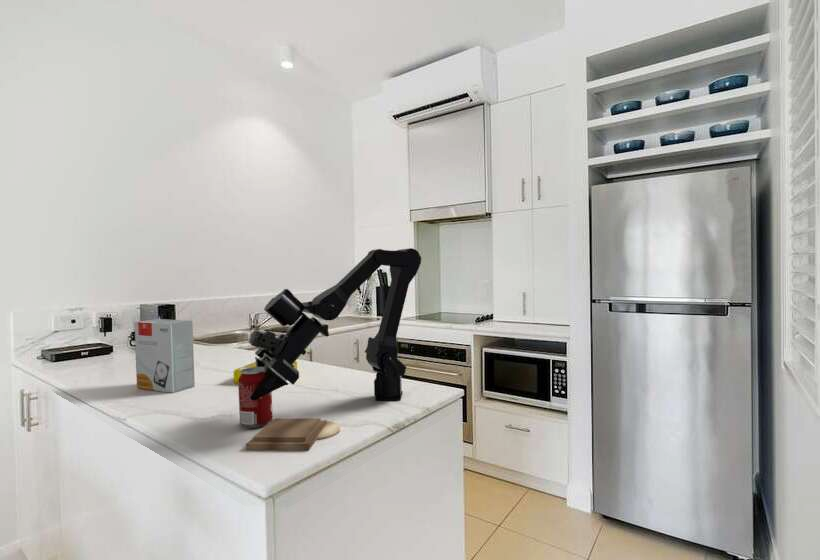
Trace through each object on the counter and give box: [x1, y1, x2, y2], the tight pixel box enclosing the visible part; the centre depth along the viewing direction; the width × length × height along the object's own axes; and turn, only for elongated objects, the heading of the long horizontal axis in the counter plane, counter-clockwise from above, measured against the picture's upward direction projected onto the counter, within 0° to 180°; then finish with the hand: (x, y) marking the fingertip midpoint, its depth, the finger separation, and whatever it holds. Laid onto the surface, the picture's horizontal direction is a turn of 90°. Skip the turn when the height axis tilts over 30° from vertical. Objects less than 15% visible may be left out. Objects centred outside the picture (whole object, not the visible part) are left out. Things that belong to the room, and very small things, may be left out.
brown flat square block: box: [245, 417, 328, 451], centre depth 83 cm, size 12×12×2 cm
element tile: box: [233, 360, 298, 385], centre depth 131 cm, size 15×15×5 cm
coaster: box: [316, 420, 341, 441], centre depth 86 cm, size 9×9×1 cm
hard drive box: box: [133, 318, 196, 394], centre depth 123 cm, size 16×8×20 cm, turn 68°
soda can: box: [237, 367, 274, 429], centre depth 91 cm, size 7×7×12 cm
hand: (248, 395), depth 90 cm, fingers closed on soda can, 7 cm apart
